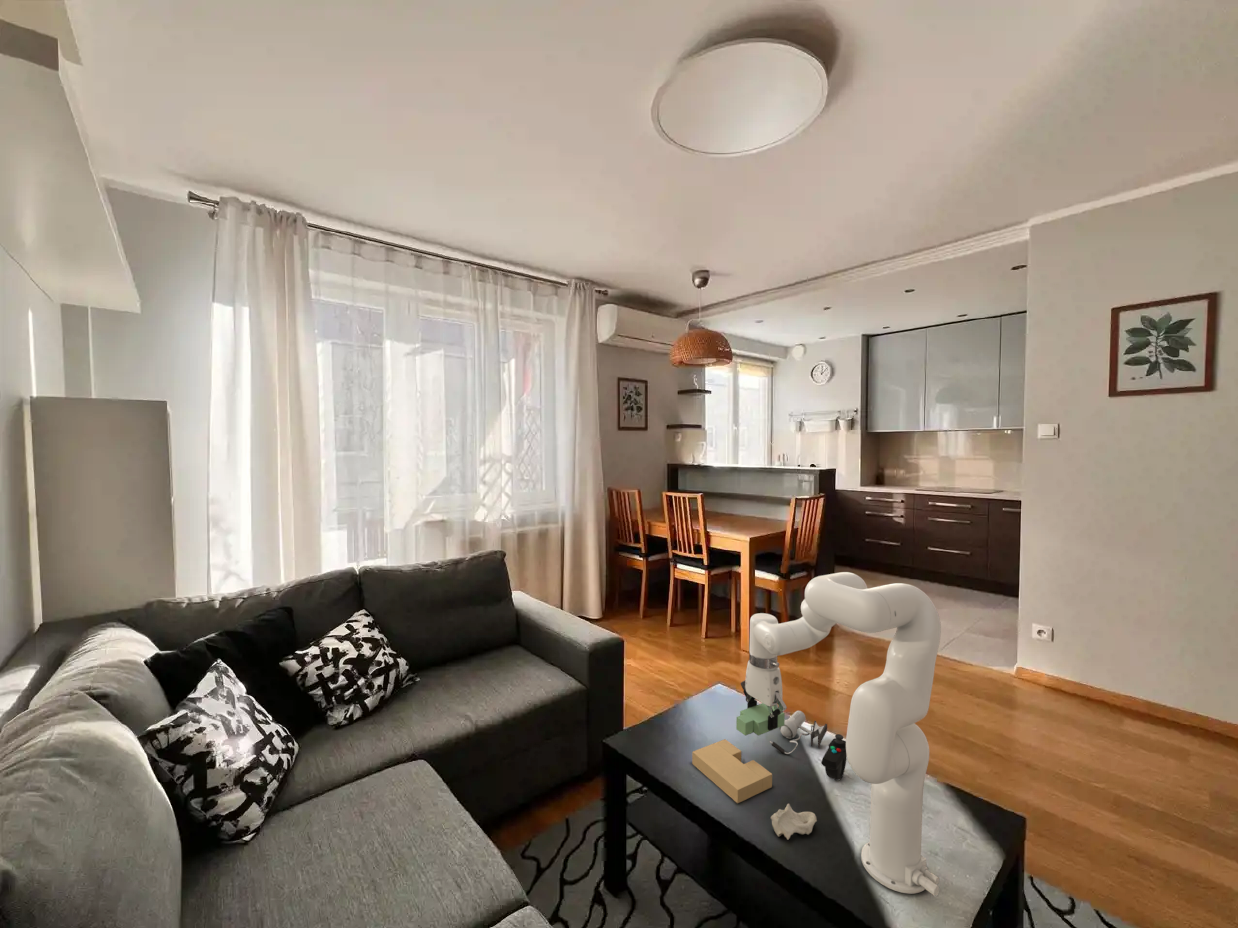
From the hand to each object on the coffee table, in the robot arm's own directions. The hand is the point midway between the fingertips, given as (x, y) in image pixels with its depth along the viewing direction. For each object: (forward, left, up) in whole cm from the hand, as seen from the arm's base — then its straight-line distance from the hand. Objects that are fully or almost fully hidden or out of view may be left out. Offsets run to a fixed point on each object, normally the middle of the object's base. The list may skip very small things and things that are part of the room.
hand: (762, 721), depth 143 cm
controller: (-15, -12, -12) cm, 22 cm away
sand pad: (0, +11, -12) cm, 16 cm away
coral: (-22, +12, -12) cm, 28 cm away
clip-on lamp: (+1, -16, -12) cm, 20 cm away
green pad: (0, +2, -1) cm, 2 cm away
